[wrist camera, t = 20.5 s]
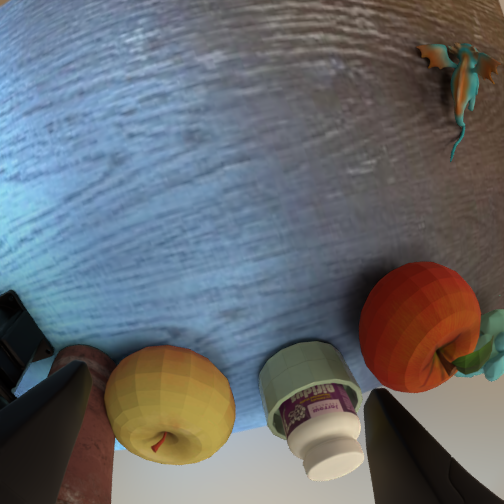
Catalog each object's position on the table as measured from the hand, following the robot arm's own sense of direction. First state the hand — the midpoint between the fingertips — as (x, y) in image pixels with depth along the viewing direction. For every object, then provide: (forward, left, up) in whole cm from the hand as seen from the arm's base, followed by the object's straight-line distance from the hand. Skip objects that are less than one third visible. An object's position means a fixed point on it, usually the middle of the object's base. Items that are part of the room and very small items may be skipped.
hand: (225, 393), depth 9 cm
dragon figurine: (+21, +5, -13) cm, 25 cm away
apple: (-8, -9, -13) cm, 18 cm away
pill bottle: (+2, -14, -13) cm, 19 cm away
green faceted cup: (+2, -14, -13) cm, 19 cm away
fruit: (+11, -10, -13) cm, 20 cm away
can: (-14, -6, -13) cm, 20 cm away
